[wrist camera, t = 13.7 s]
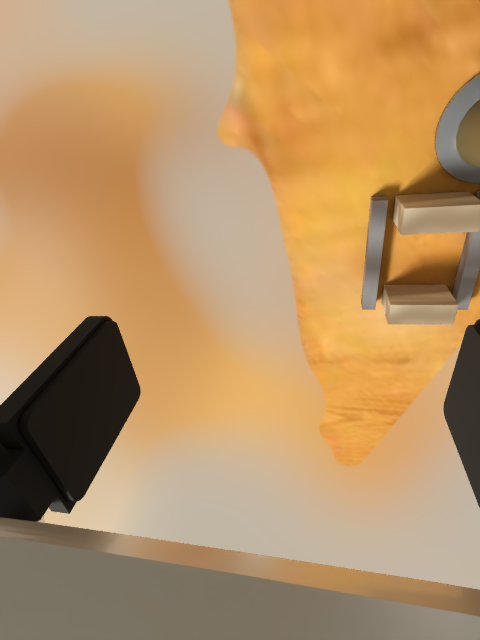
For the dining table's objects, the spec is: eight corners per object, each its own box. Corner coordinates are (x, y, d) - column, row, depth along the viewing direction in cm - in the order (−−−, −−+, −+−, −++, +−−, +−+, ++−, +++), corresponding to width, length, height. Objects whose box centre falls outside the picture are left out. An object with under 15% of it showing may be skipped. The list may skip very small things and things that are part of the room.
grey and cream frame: (371, 196, 35) (377, 210, 31) (494, 189, 33) (516, 202, 29) (361, 302, 42) (365, 323, 38) (463, 302, 40) (478, 325, 36)
